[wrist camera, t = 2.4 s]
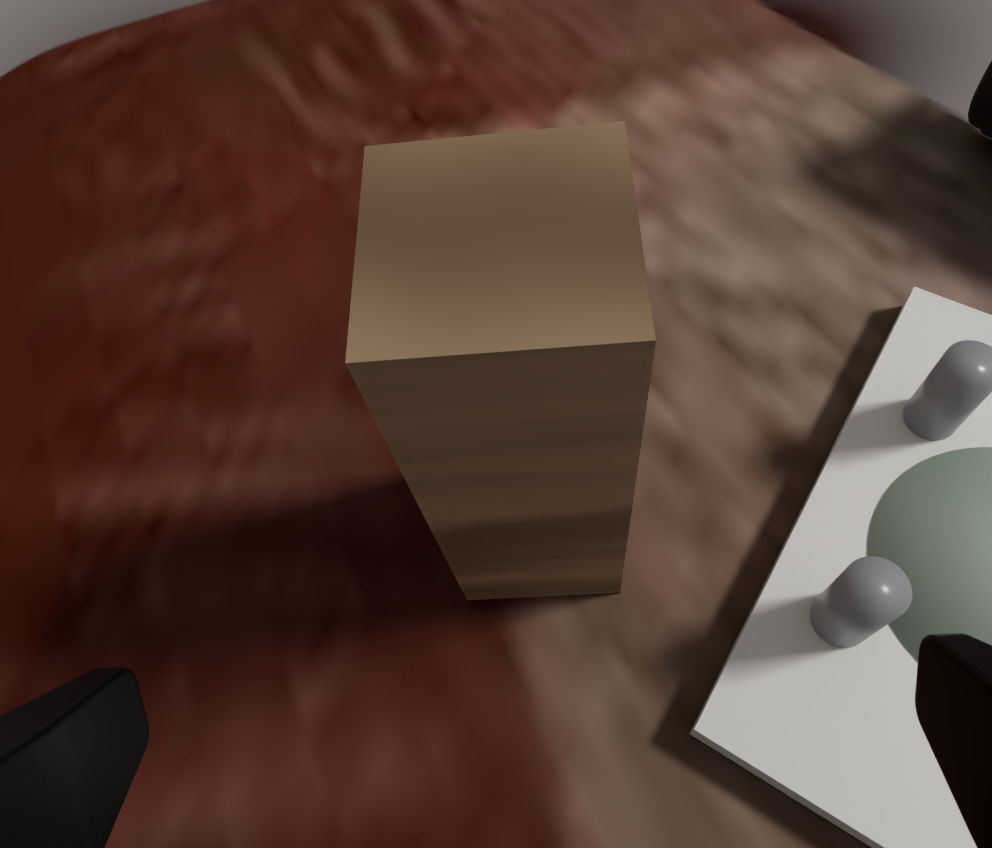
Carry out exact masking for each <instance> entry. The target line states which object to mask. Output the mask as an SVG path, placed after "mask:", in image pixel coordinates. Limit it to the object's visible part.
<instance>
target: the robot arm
mask: <svg viewBox="0 0 992 848" xmlns="http://www.w3.org/2000/svg"><path fill="white" fill-rule="evenodd" d="M915 708H916V713H917V717H918V720H919V723H920V725H921V727H922V729H923V732H924V734H925V736H926V738H927V740H928V742H929V745H930V747H931V749H932V751H933V753H934V756H935V758H936V760H937V762H938V764H939V766H940V769H941V771H942V773H943V775H944V777H945V780H946V782H947V784H948V786H949V788H950V790H951V793H952V795H953V797H954V799H955V801H956V804H957V806H958V808H959V810H960V812H961V814H962V817H963V819H964V821H965V823H966V825H967V828H968V830H969V832H970V834H971V836H972V838H973V840H974V842H975V844H976V846H977V848H992V645H990V644H988V643H986V642H983V641H981V640H979V639H977V638H974V637H972V636H970V635H967V634H963V633H948V634H930V635H927V636H925V637H924V638H923V639H922V641H921V643H920V647H919V655H918V667H917V678H916V690H915ZM148 737H149V726H148V721H147V717H146V713H145V709H144V705H143V701H142V697H141V693H140V689H139V686H138V682H137V679H136V676H135V674H134V673H133V671H132V670H130V669H128V668H126V667H116V668H97V669H93V670H91V671H89V672H87V673H85V674H83V675H81V676H79V677H77V678H75V679H73V680H71V681H69V682H67V683H65V684H63V685H61V686H59V687H57V688H55V689H53V690H51V691H49V692H47V693H45V694H43V695H41V696H39V697H37V698H35V699H33V700H31V701H29V702H27V703H25V704H23V705H22V706H20V707H18V708H16V709H14V710H12V711H10V712H8V713H6V714H4V715H2V716H0V848H104V847H105V845H106V843H107V840H108V838H109V836H110V833H111V831H112V828H113V826H114V824H115V821H116V819H117V816H118V814H119V812H120V809H121V807H122V804H123V802H124V800H125V797H126V795H127V793H128V790H129V788H130V785H131V783H132V781H133V778H134V776H135V773H136V771H137V769H138V766H139V764H140V761H141V759H142V757H143V754H144V752H145V749H146V746H147V743H148Z"/></svg>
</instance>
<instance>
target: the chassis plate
mask: <svg viewBox="0 0 992 848" xmlns="http://www.w3.org/2000/svg"><path fill="white" fill-rule="evenodd" d="M948 633H963V634H967V635H970V636H972V637H974V638H977V639H979V640H981V641H983V642H986V643H988V644H990V645H992V315H990V314H987V313H984V312H981V311H979V310H976V309H973V308H971V307H968V306H965V305H963V304H960V303H957V302H955V301H952V300H949V299H947V298H944V297H941V296H938V295H936V294H933V293H930V292H928V291H925V290H922V289H920V288H917V287H914V288H913V289H912V291H911V293H910V294H909V296H908V298H907V299H906V301H905V303H904V304H903V306H902V308H901V310H900V312H899V314H898V316H897V318H896V320H895V322H894V324H893V326H892V328H891V330H890V332H889V334H888V336H887V338H886V340H885V342H884V344H883V346H882V348H881V350H880V352H879V354H878V356H877V358H876V360H875V362H874V364H873V366H872V368H871V370H870V372H869V374H868V376H867V378H866V380H865V382H864V384H863V386H862V388H861V390H860V392H859V394H858V396H857V398H856V400H855V402H854V404H853V406H852V408H851V410H850V412H849V414H848V416H847V418H846V420H845V422H844V424H843V426H842V428H841V430H840V433H839V435H838V437H837V439H836V441H835V443H834V445H833V447H832V449H831V451H830V453H829V455H828V457H827V459H826V461H825V463H824V465H823V467H822V469H821V471H820V473H819V475H818V477H817V479H816V481H815V483H814V485H813V487H812V489H811V491H810V493H809V495H808V497H807V499H806V501H805V503H804V505H803V507H802V509H801V511H800V513H799V515H798V517H797V519H796V521H795V523H794V525H793V527H792V529H791V531H790V533H789V535H788V537H787V539H786V541H785V543H784V545H783V547H782V549H781V551H780V553H779V555H778V557H777V559H776V561H775V563H774V565H773V567H772V569H771V571H770V573H769V575H768V577H767V579H766V581H765V583H764V585H763V587H762V589H761V591H760V593H759V595H758V597H757V599H756V601H755V603H754V605H753V607H752V609H751V611H750V613H749V615H748V617H747V619H746V621H745V623H744V625H743V627H742V629H741V631H740V633H739V635H738V637H737V639H736V641H735V643H734V645H733V647H732V649H731V651H730V653H729V655H728V657H727V659H726V661H725V663H724V665H723V667H722V669H721V671H720V673H719V675H718V677H717V679H716V681H715V683H714V685H713V687H712V689H711V691H710V693H709V695H708V697H707V699H706V701H705V703H704V705H703V707H702V709H701V711H700V713H699V715H698V717H697V719H696V721H695V723H694V725H693V727H692V729H691V731H690V733H689V734H690V735H692V736H693V737H695V738H697V739H698V740H700V741H701V742H703V743H705V744H706V745H708V746H709V747H711V748H713V749H714V750H716V751H717V752H719V753H721V754H722V755H724V756H726V757H727V758H729V759H730V760H732V761H734V762H735V763H737V764H738V765H740V766H742V767H743V768H745V769H746V770H748V771H750V772H751V773H753V774H754V775H756V776H758V777H759V778H761V779H762V780H764V781H766V782H767V783H769V784H770V785H772V786H774V787H775V788H777V789H778V790H780V791H782V792H783V793H785V794H786V795H788V796H790V797H791V798H793V799H794V800H796V801H798V802H799V803H801V804H802V805H804V806H806V807H807V808H809V809H810V810H812V811H814V812H815V813H817V814H818V815H820V816H822V817H823V818H825V819H826V820H828V821H830V822H831V823H833V824H834V825H836V826H838V827H839V828H841V829H842V830H844V831H846V832H847V833H849V834H850V835H852V836H854V837H855V838H857V839H858V840H860V841H862V842H863V843H865V844H866V845H868V846H870V847H871V848H977V846H976V844H975V842H974V840H973V838H972V836H971V834H970V832H969V830H968V828H967V825H966V823H965V821H964V819H963V817H962V814H961V812H960V810H959V808H958V806H957V804H956V801H955V799H954V797H953V795H952V793H951V790H950V788H949V786H948V784H947V782H946V780H945V777H944V775H943V773H942V771H941V769H940V766H939V764H938V762H937V760H936V758H935V756H934V753H933V751H932V749H931V747H930V745H929V742H928V740H927V738H926V736H925V734H924V732H923V729H922V727H921V725H920V723H919V720H918V717H917V713H916V708H915V690H916V678H917V667H918V655H919V647H920V643H921V641H922V639H923V638H924V637H925V636H927V635H930V634H948Z"/></svg>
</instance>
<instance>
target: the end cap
mask: <svg viewBox="0 0 992 848" xmlns="http://www.w3.org/2000/svg"><path fill="white" fill-rule="evenodd" d="M968 119H969V122H970V124H972V125H973V126H975V127H977V128H979V129H981V133H982V134H984V135H986V136H988V137H990V138H992V61H991V63H990V65H989V66H988V68H987V70H986V72H985V74H984V75H983V77H982V79H981V81H980V83H979V85H978V87H977V89H976V91H975V93H974V96H973V99H972V101H971V104H970V108H969V112H968Z"/></svg>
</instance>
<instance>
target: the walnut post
mask: <svg viewBox="0 0 992 848" xmlns="http://www.w3.org/2000/svg"><path fill="white" fill-rule="evenodd" d="M655 342H656V338H655V331H654V324H653V317H652V310H651V303H650V296H649V289H648V282H647V275H646V268H645V261H644V254H643V247H642V240H641V233H640V226H639V219H638V212H637V205H636V198H635V191H634V184H633V177H632V170H631V163H630V156H629V149H628V142H627V135H626V128H625V121H620V122H609V123H599V124H589V125H579V126H568V127H558V128H548V129H537V130H527V131H517V132H507V133H496V134H486V135H476V136H465V137H455V138H445V139H435V140H424V141H414V142H404V143H393V144H383V145H373V146H365V150H364V161H363V172H362V183H361V195H360V206H359V217H358V228H357V239H356V250H355V262H354V273H353V284H352V295H351V306H350V317H349V329H348V340H347V351H346V362H345V363H346V365H347V367H348V369H349V371H350V373H351V375H352V377H353V379H354V381H355V383H356V385H357V387H358V389H359V391H360V393H361V395H362V397H363V398H364V400H365V402H366V404H367V406H368V408H369V410H370V412H371V414H372V416H373V418H374V420H375V422H376V424H377V426H378V428H379V430H380V432H381V434H382V436H383V438H384V439H385V441H386V443H387V445H388V447H389V449H390V451H391V453H392V455H393V457H394V459H395V461H396V463H397V465H398V467H399V469H400V471H401V473H402V475H403V477H404V479H405V480H406V482H407V484H408V486H409V488H410V490H411V492H412V494H413V496H414V498H415V500H416V502H417V504H418V506H419V508H420V510H421V512H422V514H423V516H424V518H425V520H426V521H427V523H428V525H429V527H430V529H431V531H432V533H433V535H434V537H435V539H436V541H437V543H438V545H439V547H440V549H441V551H442V553H443V555H444V557H445V559H446V561H447V562H448V564H449V566H450V568H451V570H452V572H453V574H454V576H455V578H456V580H457V582H458V584H459V586H460V588H461V590H462V592H463V594H464V596H465V598H466V600H481V599H502V598H524V597H545V596H567V595H588V594H609V593H620V588H621V581H622V574H623V567H624V560H625V553H626V546H627V539H628V532H629V525H630V518H631V511H632V504H633V497H634V490H635V483H636V476H637V469H638V462H639V455H640V448H641V441H642V434H643V427H644V420H645V413H646V406H647V398H648V391H649V384H650V377H651V370H652V363H653V356H654V349H655Z"/></svg>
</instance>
